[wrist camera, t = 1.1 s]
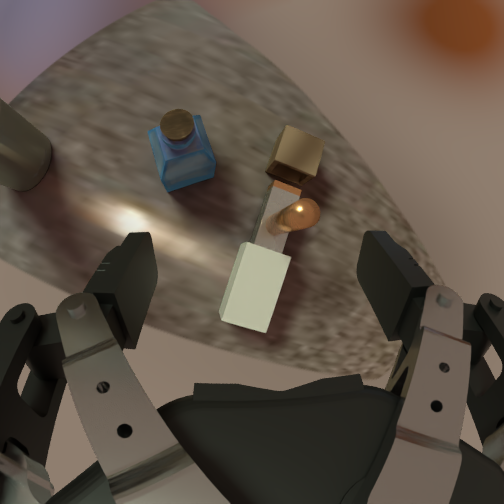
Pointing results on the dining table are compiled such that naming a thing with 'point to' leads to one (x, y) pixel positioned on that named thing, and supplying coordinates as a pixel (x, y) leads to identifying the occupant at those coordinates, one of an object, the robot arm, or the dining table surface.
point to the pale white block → (254, 287)
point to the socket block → (295, 156)
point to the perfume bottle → (182, 150)
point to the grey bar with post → (283, 216)
